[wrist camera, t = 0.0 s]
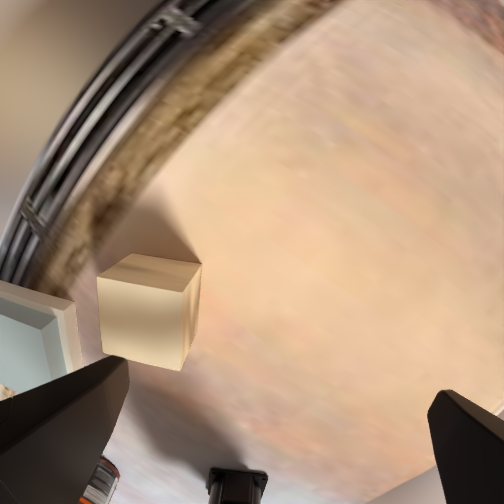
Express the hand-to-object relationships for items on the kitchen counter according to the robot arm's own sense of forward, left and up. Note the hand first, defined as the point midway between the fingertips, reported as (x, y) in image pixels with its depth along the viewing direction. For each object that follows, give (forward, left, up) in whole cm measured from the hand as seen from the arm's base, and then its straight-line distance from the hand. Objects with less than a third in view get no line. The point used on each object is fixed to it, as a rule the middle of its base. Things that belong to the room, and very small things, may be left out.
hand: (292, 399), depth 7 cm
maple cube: (-4, +8, -15) cm, 17 cm away
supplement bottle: (-32, +18, -15) cm, 40 cm away
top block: (-12, +22, -13) cm, 28 cm away
